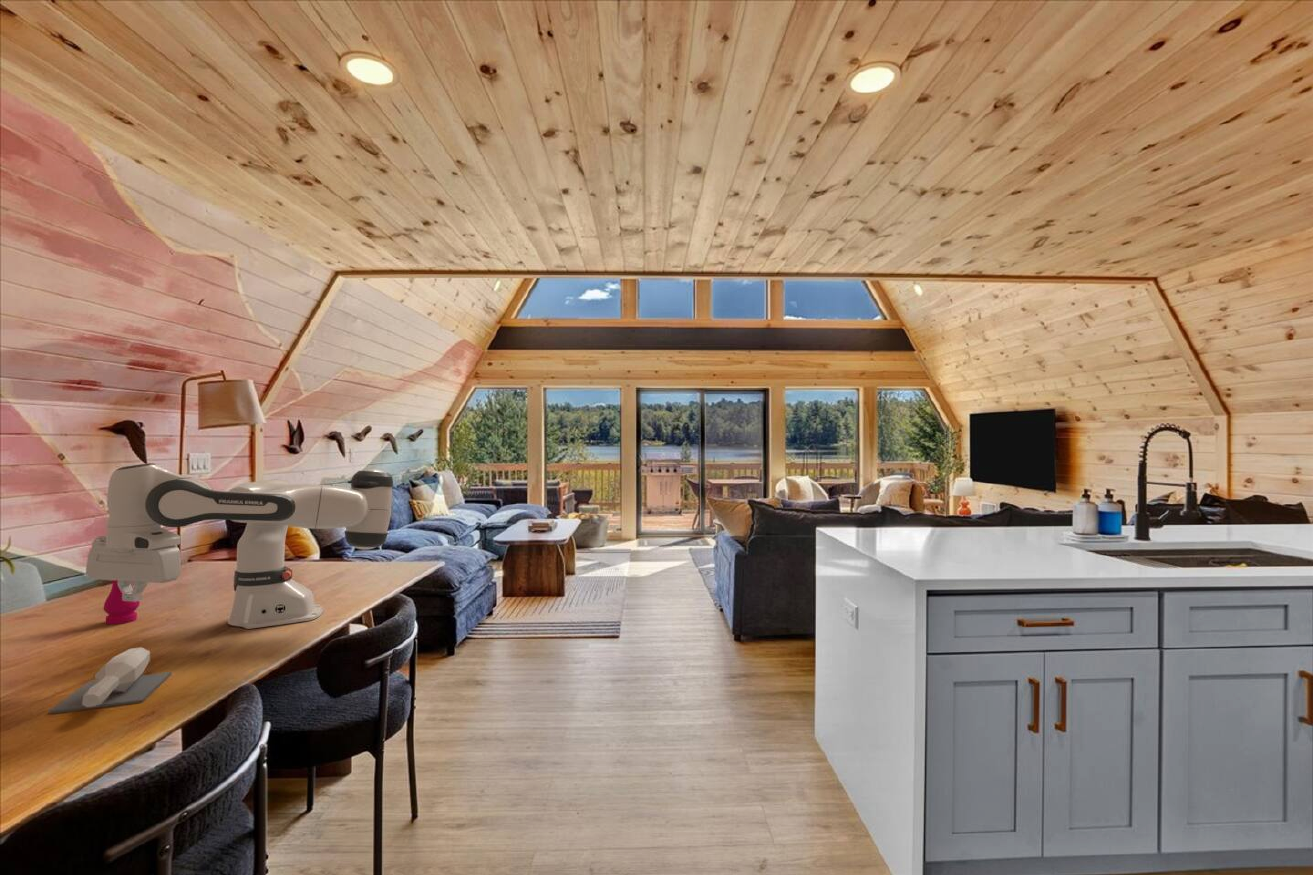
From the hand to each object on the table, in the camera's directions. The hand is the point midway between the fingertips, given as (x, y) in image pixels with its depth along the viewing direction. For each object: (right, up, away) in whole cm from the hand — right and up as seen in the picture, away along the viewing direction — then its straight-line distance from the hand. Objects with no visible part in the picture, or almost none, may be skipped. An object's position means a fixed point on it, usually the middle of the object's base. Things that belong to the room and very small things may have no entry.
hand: (132, 600), depth 124 cm
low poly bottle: (+3, -12, -2) cm, 12 cm away
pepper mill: (-32, -15, +32) cm, 48 cm away
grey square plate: (+7, -15, -11) cm, 20 cm away
